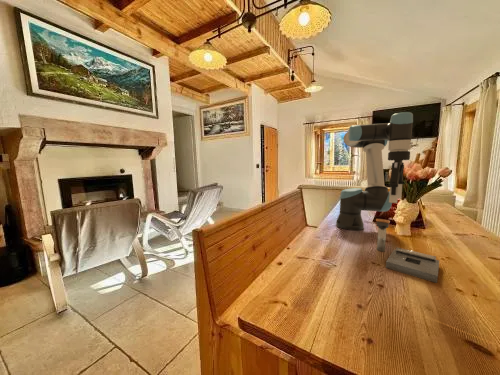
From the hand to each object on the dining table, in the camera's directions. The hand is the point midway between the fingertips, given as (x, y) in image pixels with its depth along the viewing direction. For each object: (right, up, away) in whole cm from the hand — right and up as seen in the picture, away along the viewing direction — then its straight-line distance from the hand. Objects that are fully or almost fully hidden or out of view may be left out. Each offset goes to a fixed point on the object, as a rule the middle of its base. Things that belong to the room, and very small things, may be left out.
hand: (395, 200), depth 87 cm
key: (-5, -22, +2) cm, 23 cm away
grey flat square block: (-3, -24, -13) cm, 28 cm away
